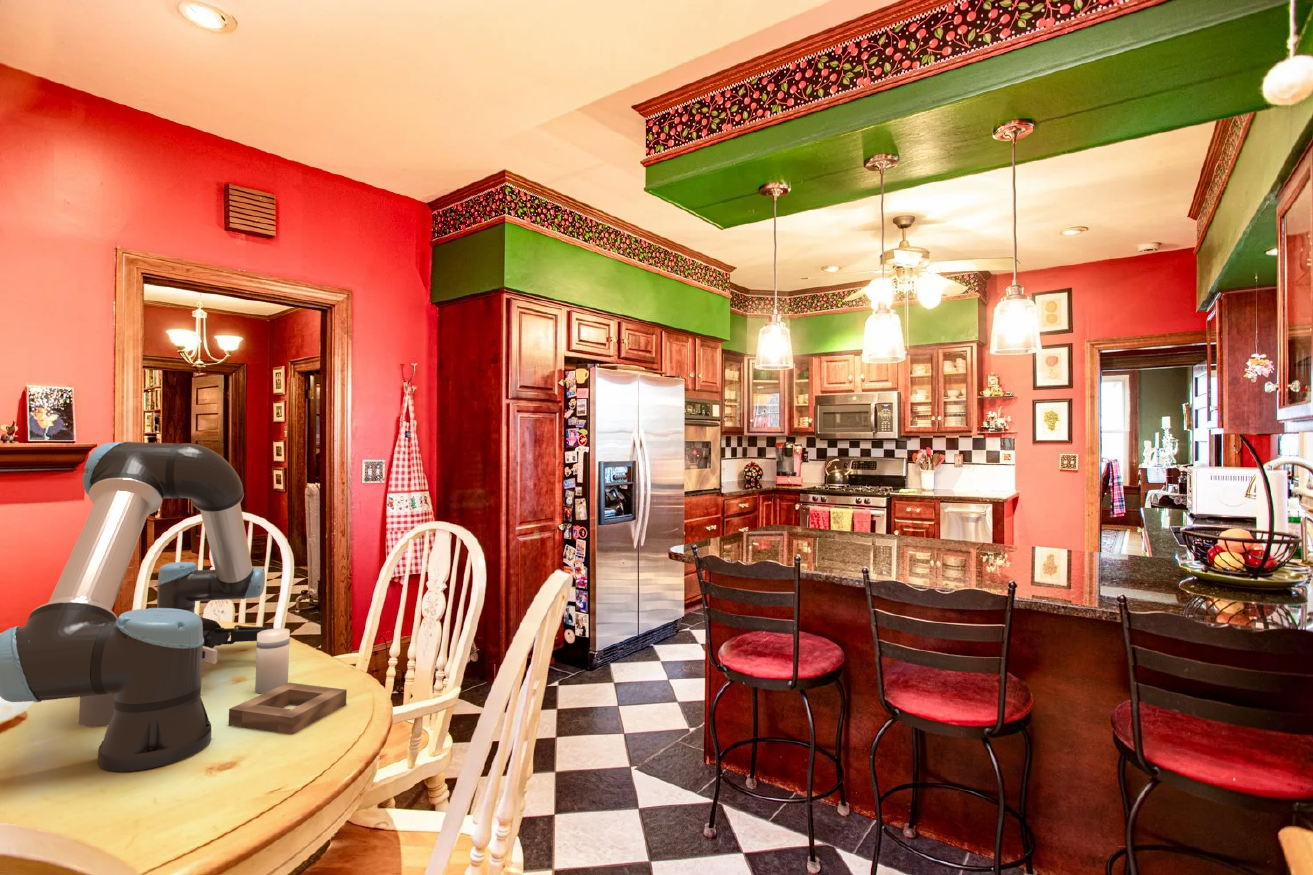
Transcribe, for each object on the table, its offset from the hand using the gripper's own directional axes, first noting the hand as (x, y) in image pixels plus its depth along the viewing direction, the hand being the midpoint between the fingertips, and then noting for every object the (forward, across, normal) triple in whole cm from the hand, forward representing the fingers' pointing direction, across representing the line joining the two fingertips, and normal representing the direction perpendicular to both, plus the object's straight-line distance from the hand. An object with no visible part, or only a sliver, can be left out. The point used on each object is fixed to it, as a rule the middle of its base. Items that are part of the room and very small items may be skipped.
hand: (248, 648), depth 140 cm
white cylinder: (+9, 0, -7) cm, 12 cm away
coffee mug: (-2, +22, -7) cm, 23 cm away
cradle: (+25, +6, -7) cm, 27 cm away
